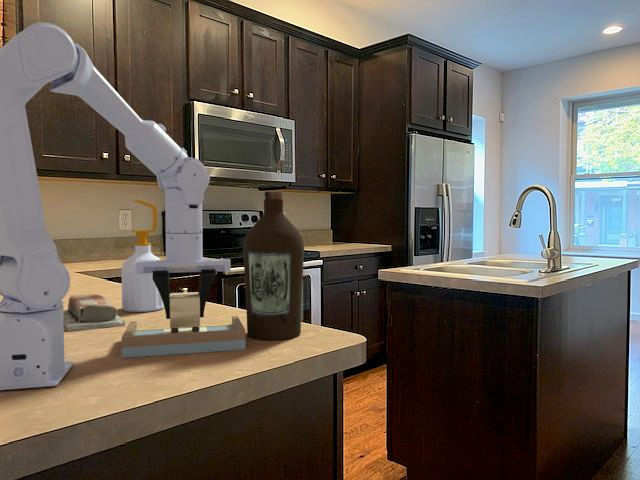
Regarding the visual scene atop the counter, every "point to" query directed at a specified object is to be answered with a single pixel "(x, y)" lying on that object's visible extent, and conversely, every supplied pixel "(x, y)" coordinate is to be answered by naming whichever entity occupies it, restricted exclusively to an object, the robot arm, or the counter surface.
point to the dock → (182, 339)
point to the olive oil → (273, 274)
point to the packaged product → (90, 313)
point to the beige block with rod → (184, 311)
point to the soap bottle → (140, 275)
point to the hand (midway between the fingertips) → (185, 317)
